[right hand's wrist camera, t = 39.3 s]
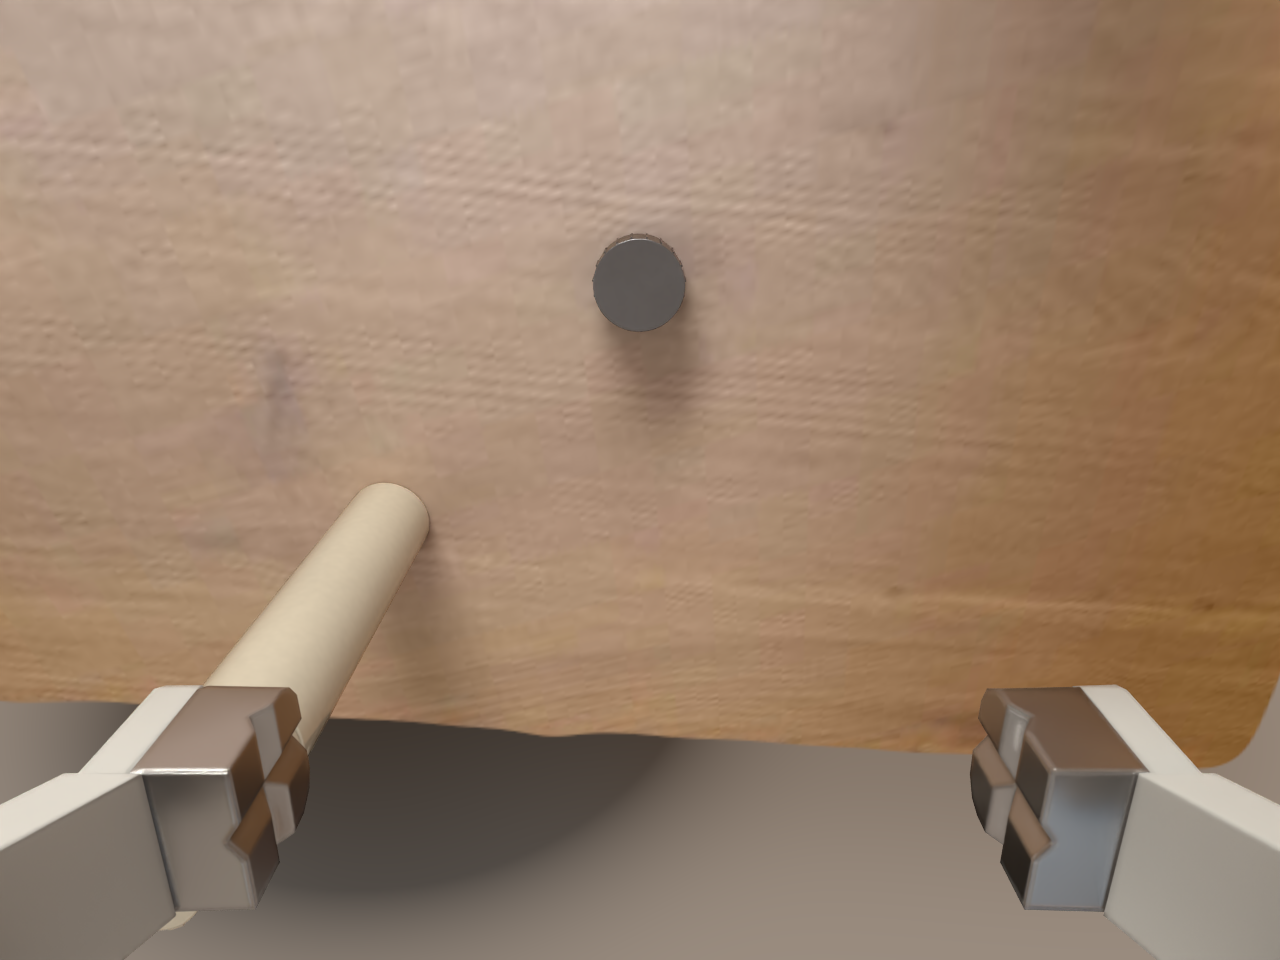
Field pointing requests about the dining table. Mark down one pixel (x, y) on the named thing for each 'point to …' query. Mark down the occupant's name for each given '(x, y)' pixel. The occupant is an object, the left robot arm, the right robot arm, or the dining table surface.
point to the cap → (639, 282)
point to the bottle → (329, 610)
